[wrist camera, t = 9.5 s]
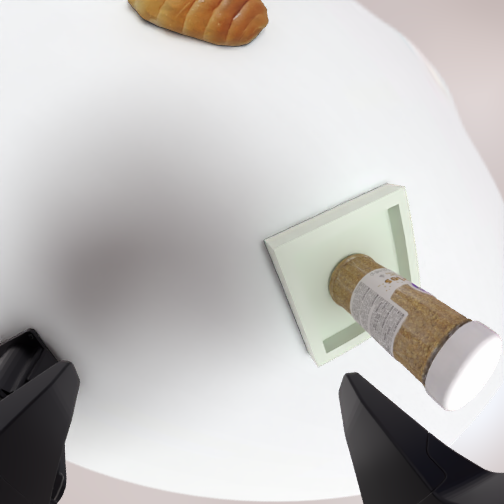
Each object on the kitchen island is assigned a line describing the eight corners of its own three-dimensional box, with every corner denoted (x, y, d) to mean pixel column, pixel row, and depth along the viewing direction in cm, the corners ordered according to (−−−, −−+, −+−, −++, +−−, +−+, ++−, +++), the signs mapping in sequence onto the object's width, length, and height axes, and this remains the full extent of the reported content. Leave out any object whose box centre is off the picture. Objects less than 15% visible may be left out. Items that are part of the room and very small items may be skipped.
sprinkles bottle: (381, 257, 23) (514, 334, 10) (364, 307, 24) (475, 405, 11) (336, 247, 22) (480, 338, 9) (318, 303, 23) (431, 423, 10)
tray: (308, 352, 25) (318, 367, 23) (263, 240, 21) (273, 249, 19) (407, 294, 26) (421, 303, 24) (387, 183, 22) (404, 186, 20)
